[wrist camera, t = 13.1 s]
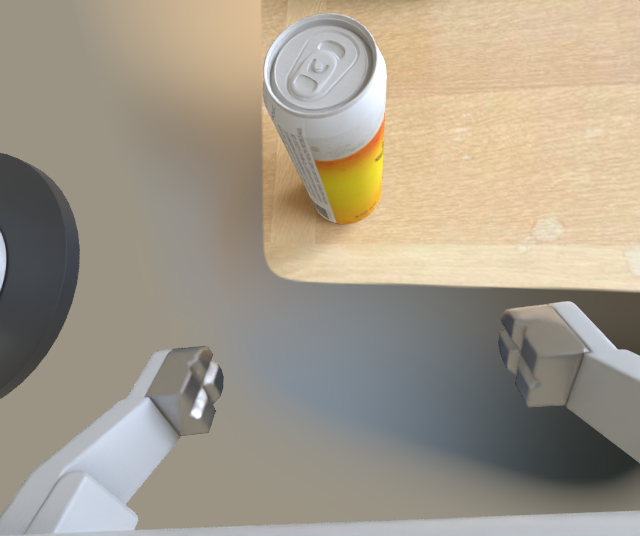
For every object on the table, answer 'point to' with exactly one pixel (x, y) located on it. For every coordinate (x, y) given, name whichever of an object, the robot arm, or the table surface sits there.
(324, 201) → the beer can
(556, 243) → the table surface
